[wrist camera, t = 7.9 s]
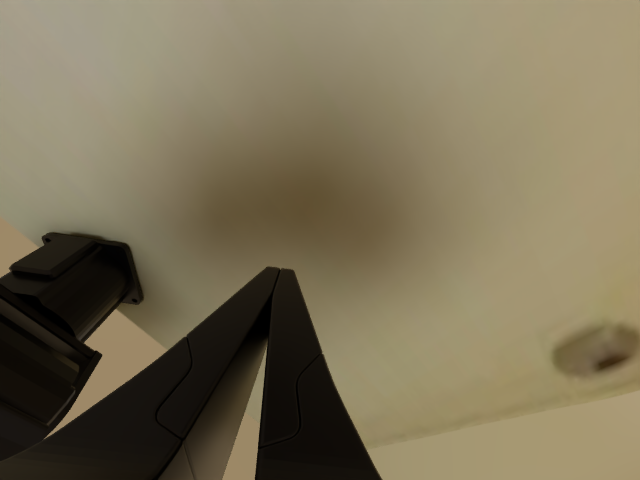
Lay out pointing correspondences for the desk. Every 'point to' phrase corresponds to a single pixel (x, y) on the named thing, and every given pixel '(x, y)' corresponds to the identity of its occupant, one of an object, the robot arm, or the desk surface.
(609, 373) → the desk surface
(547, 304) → the desk surface
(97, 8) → the desk surface
